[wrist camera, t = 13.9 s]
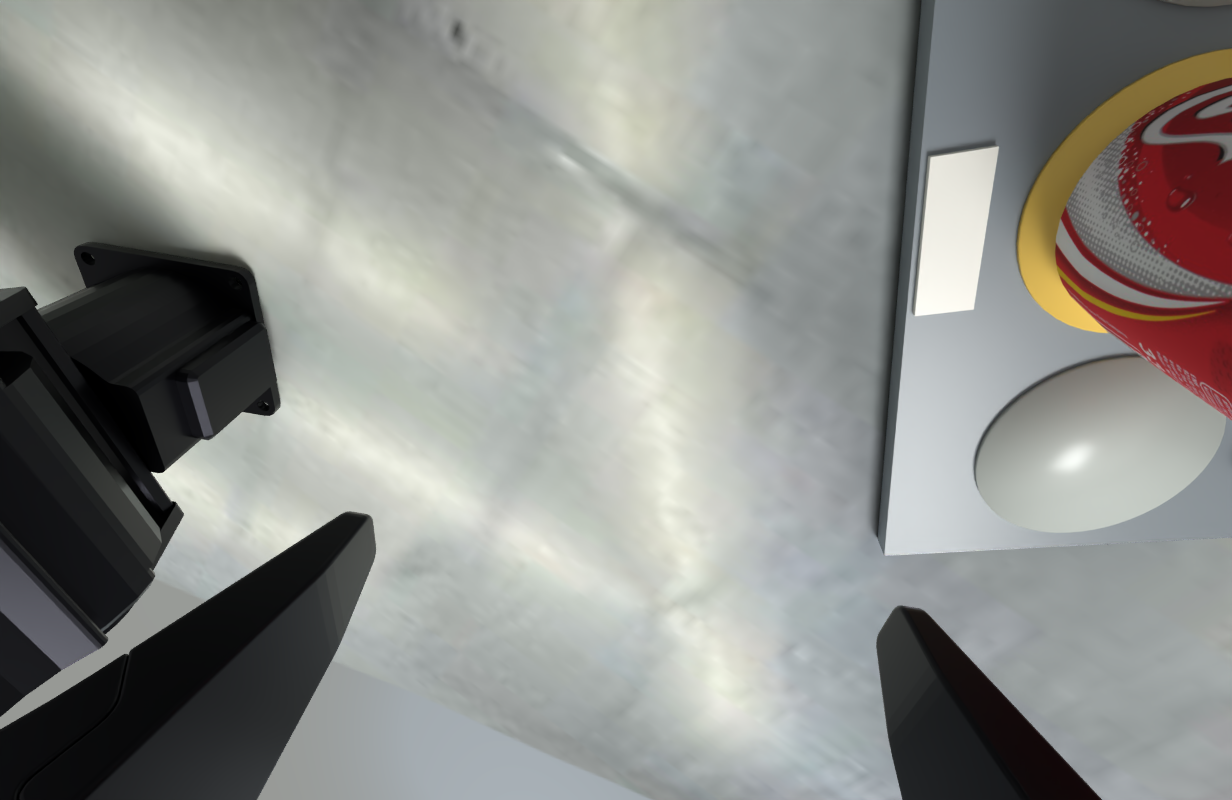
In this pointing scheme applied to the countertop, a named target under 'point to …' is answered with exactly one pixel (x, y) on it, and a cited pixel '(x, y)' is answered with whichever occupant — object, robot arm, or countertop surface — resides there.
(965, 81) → the control panel
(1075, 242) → the soda can
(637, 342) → the countertop surface
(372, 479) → the countertop surface
